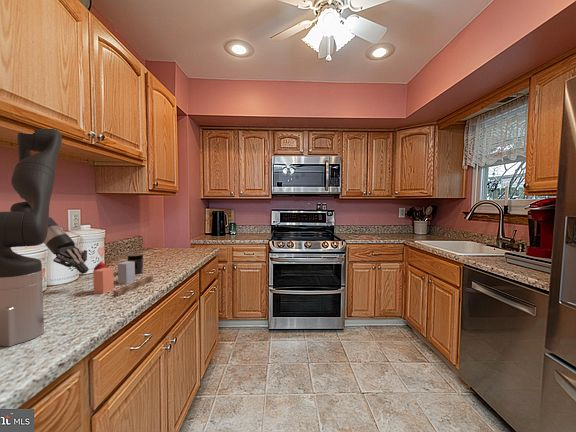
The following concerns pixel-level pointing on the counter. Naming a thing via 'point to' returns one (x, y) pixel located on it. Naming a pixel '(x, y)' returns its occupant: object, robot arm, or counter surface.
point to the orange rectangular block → (103, 280)
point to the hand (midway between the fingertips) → (85, 272)
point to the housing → (132, 286)
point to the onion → (100, 266)
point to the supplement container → (136, 262)
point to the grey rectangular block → (126, 272)
